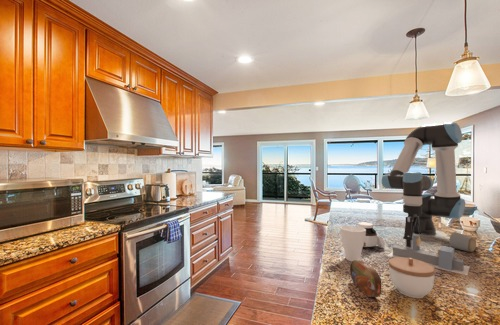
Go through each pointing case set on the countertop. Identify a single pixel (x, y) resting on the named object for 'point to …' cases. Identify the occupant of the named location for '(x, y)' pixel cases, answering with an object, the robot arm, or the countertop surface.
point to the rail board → (429, 259)
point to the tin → (365, 278)
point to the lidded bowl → (411, 276)
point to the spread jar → (371, 236)
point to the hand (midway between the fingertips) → (412, 250)
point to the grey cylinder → (462, 242)
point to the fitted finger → (445, 257)
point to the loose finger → (416, 242)
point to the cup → (353, 241)
